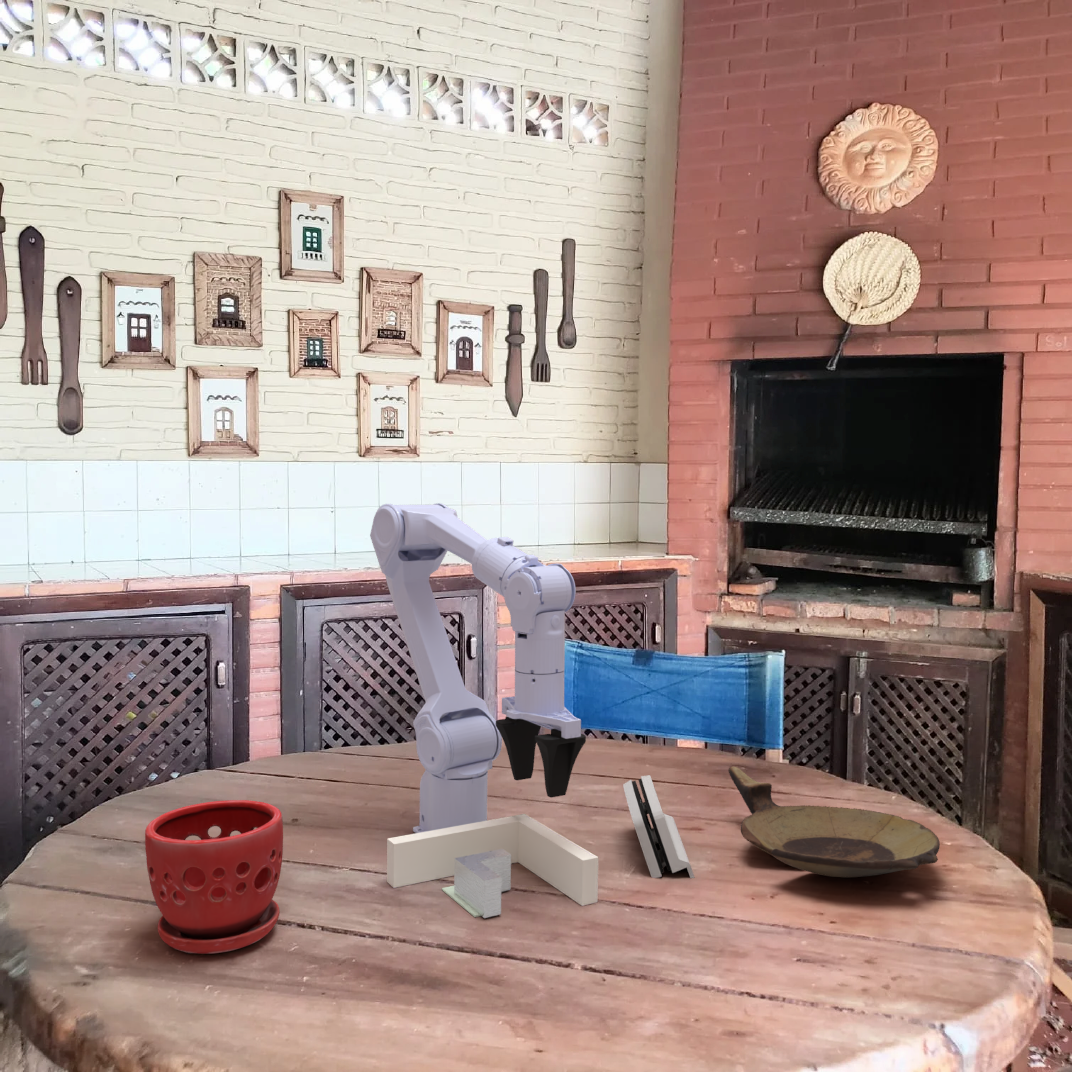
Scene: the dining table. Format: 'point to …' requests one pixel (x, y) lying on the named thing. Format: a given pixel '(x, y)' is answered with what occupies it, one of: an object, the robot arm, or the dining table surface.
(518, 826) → the corner wall
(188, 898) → the plant pot
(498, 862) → the bracket
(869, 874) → the brown frying pan
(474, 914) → the mat
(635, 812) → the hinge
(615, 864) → the dining table surface
